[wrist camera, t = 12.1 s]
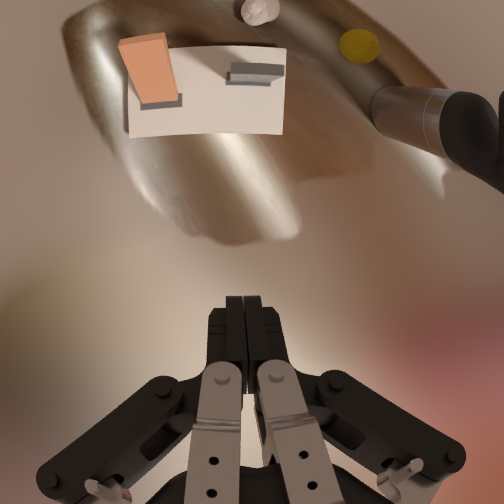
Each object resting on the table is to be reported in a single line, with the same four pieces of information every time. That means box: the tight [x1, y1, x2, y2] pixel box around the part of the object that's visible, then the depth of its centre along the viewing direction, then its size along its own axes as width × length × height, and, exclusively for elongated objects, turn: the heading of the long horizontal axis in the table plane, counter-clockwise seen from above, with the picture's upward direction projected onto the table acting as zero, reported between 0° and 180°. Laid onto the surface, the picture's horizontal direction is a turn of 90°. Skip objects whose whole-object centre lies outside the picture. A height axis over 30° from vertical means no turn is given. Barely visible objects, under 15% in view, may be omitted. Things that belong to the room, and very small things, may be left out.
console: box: [128, 46, 286, 138], centre depth 34 cm, size 22×13×2 cm, turn 88°
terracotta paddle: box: [118, 32, 178, 104], centre depth 27 cm, size 5×1×12 cm
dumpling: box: [241, 0, 280, 26], centre depth 28 cm, size 7×5×4 cm
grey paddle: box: [230, 62, 285, 83], centre depth 27 cm, size 5×1×12 cm, turn 88°
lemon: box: [339, 29, 380, 64], centre depth 29 cm, size 6×6×8 cm
